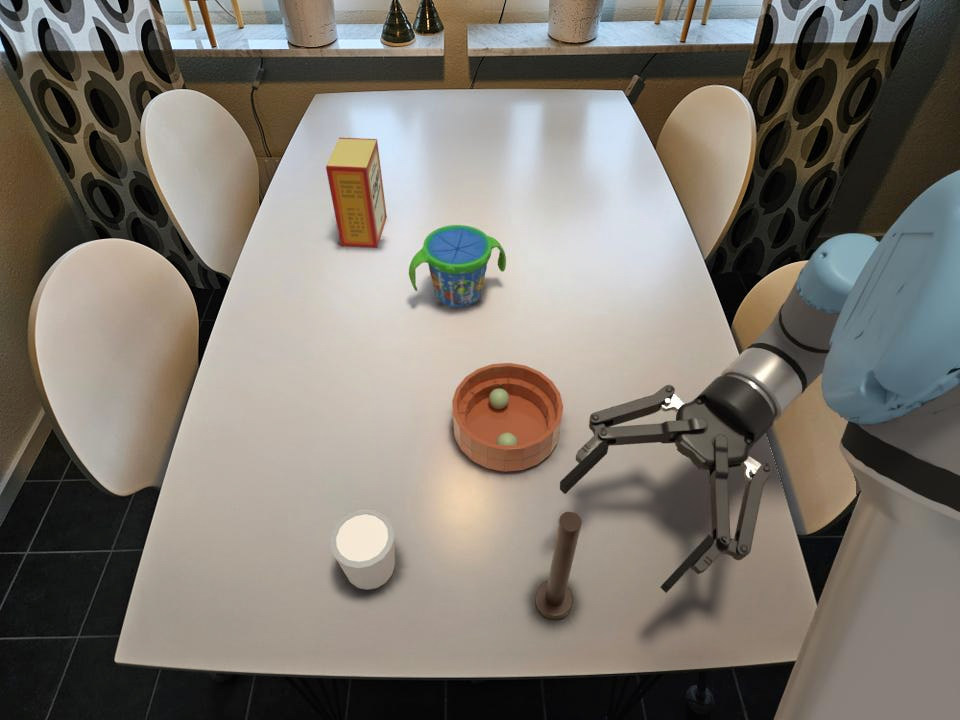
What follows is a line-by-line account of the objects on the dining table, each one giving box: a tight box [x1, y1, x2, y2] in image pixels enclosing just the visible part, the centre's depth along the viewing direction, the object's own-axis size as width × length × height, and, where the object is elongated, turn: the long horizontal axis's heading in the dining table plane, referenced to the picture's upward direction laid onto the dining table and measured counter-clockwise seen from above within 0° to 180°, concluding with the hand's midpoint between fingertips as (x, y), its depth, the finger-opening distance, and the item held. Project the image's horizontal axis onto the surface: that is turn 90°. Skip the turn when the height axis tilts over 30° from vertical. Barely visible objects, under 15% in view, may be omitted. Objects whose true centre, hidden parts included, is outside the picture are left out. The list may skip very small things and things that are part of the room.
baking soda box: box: [325, 137, 388, 249], centre depth 112 cm, size 10×6×16 cm
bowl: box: [451, 362, 564, 472], centre depth 85 cm, size 14×14×6 cm
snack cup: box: [408, 224, 507, 309], centre depth 102 cm, size 16×10×10 cm
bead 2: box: [496, 433, 518, 446], centre depth 83 cm, size 3×3×3 cm
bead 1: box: [489, 388, 509, 409], centre depth 88 cm, size 3×3×3 cm
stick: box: [535, 511, 583, 621], centre depth 65 cm, size 4×4×18 cm
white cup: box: [329, 508, 396, 591], centre depth 72 cm, size 7×7×7 cm
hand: (611, 536), depth 64 cm, fingers open, 13 cm apart
